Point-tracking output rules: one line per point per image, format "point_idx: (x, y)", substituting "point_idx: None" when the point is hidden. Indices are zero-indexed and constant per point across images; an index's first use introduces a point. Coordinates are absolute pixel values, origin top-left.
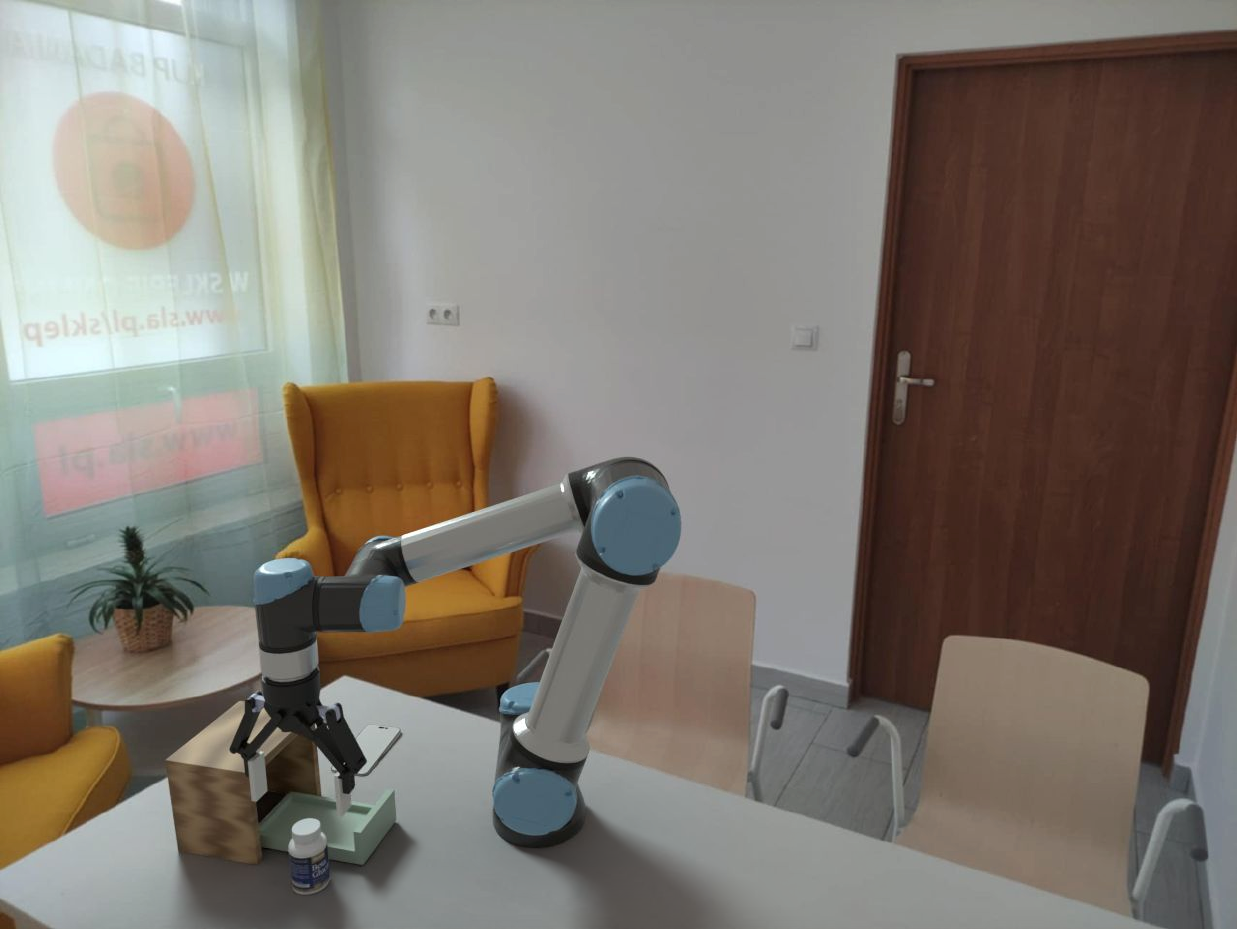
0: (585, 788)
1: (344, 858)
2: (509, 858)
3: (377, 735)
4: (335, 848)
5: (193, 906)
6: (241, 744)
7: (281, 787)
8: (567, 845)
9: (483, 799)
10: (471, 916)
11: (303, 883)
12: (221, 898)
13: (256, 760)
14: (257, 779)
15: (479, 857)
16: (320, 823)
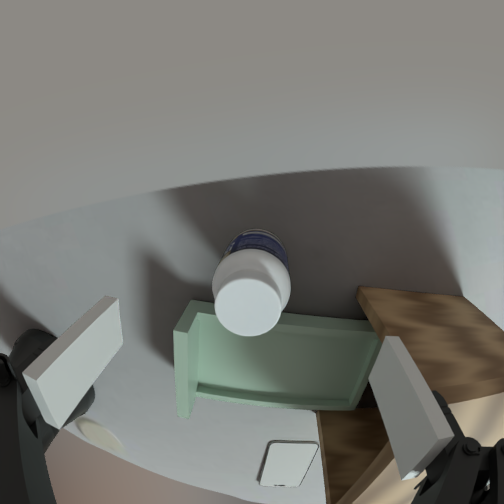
0: None
1: None
2: (46, 315)
3: (281, 479)
4: None
5: (414, 193)
6: (482, 478)
7: (369, 414)
8: (20, 330)
9: (115, 403)
10: (38, 222)
11: (252, 233)
12: (384, 211)
13: (422, 449)
14: (401, 391)
15: (69, 318)
16: (289, 369)
